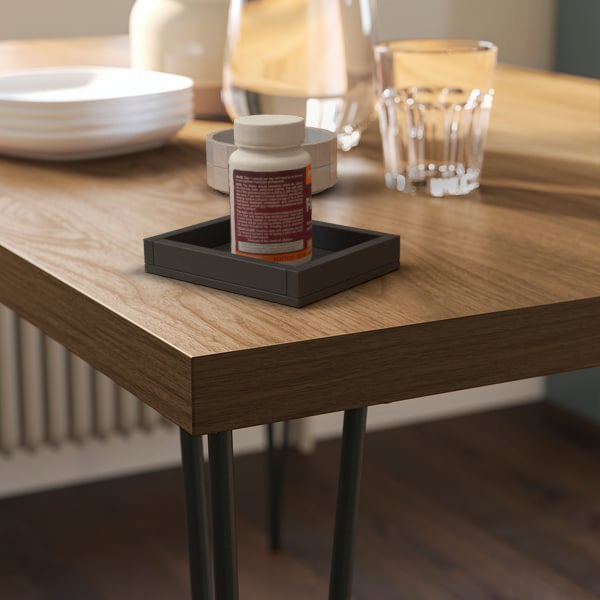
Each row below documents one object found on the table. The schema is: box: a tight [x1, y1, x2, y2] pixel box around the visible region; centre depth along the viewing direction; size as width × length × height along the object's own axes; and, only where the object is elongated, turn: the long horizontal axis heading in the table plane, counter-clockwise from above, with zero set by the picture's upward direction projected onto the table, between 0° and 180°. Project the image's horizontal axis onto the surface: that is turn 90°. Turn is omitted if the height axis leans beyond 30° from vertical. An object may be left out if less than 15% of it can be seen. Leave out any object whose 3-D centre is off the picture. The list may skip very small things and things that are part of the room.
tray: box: [142, 214, 401, 308], centre depth 69 cm, size 12×10×2 cm
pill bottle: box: [228, 114, 313, 267], centre depth 68 cm, size 5×5×8 cm
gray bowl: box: [205, 125, 338, 196], centre depth 91 cm, size 10×10×4 cm
